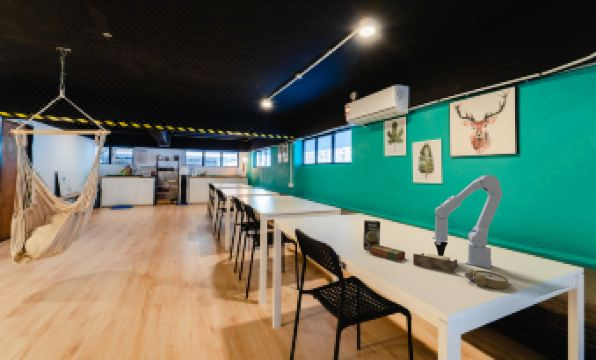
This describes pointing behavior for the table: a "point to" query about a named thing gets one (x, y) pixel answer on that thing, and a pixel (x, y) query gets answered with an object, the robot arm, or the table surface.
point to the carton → (387, 252)
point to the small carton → (438, 256)
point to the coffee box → (371, 234)
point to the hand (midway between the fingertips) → (440, 256)
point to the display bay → (434, 262)
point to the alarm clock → (487, 279)
